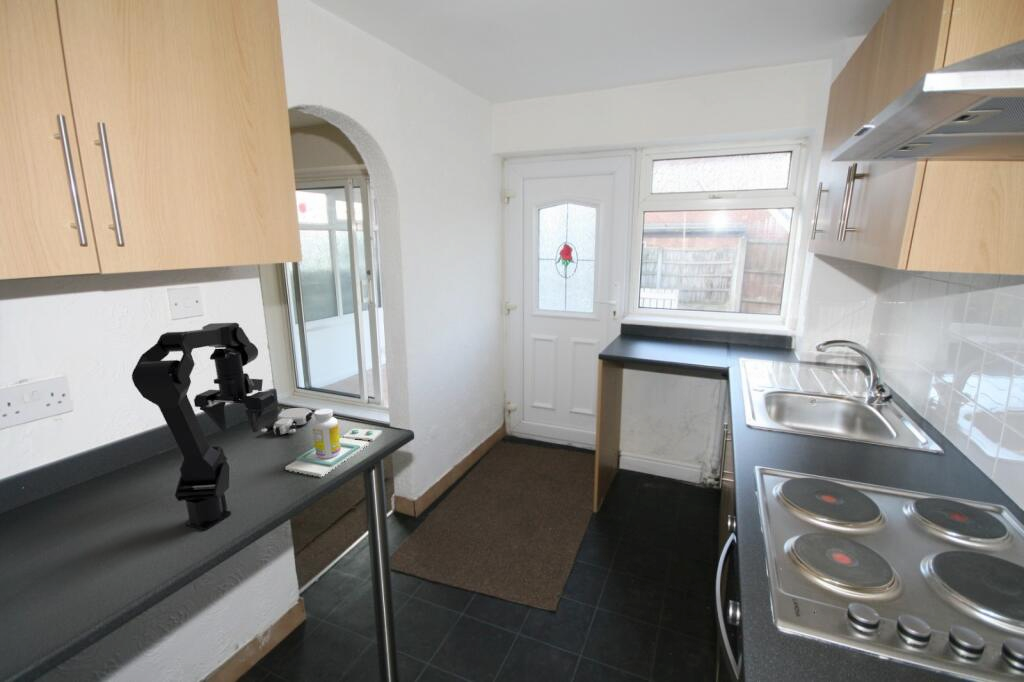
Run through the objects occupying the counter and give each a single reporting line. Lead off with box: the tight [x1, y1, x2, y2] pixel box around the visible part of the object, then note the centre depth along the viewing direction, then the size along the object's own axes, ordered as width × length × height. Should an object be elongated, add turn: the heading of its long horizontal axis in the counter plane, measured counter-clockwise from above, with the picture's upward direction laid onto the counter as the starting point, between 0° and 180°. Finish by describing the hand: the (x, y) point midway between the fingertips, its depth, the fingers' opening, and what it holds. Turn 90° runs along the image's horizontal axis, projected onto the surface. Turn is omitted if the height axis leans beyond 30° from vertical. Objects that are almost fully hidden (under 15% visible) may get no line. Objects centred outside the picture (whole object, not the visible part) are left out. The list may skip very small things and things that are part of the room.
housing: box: [285, 436, 370, 478], centre depth 133 cm, size 20×12×2 cm, turn 160°
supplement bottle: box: [311, 408, 341, 458], centre depth 131 cm, size 7×7×13 cm
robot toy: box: [260, 407, 318, 435], centre depth 154 cm, size 12×4×15 cm
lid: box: [342, 428, 383, 442], centre depth 147 cm, size 6×10×1 cm, turn 78°
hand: (239, 431), depth 120 cm, fingers open, 9 cm apart
